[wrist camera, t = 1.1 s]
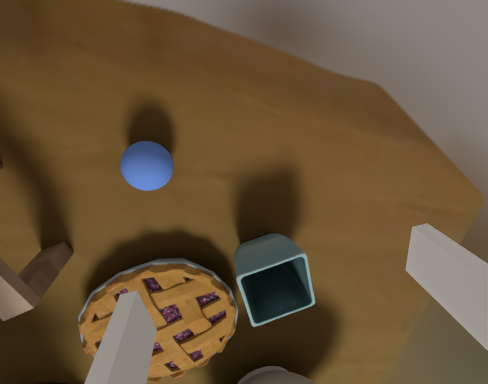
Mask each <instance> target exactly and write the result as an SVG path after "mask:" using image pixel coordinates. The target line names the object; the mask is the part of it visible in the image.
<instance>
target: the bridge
mask: <svg viewBox="0 0 488 384" xmlns="http://www.w3.org/2000/svg"><path fill="white" fill-rule="evenodd" d="M1 168H3V167H2V165H1V164H0V169H1ZM72 254H73V251H72V250H71V249H70V248H69V246H68V245H67V244H66V243H65V242H64V241H63V242H60V243H58V244H56V245H53V246H51V247H48V248H46V249H44V250H41V251H40V252H39V253H38V254H37V255H36V257H35V258H34V259H33V260H32V261H31V262H30V263H29V264H28V265H27V266H26V267H25V268H24V269H23V270H22V272H21V273H20V274H19V275H18V276H17V275H16V274H15V273H14V272H13V271H12V270H11V269H10V268H9V267H8V266H7V265H6V264H5V263H4V262H3V261H2V260H1V259H0V319H2V320H3V321H5V320H8V319H10V318H12V317H15V316H17V315H19V314H22V313H24V312H26V311H28V310H31V309H33V308H34V307H35V306H36V305H37V303H38V302H39V300H40V299H41V298H42V296H43V295H44V293H45V292H46V291H47V289H48V288H49V286H50V285H51V284H52V282H53V281H54V279H55V278H56V277H57V275H58V274H59V273H60V271H61V270H62V268H63V267H64V266H65V264H66V263H67V261H68V260H69V259H70V257H71V256H72Z"/></svg>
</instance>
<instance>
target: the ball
mask: <svg viewBox="0 0 488 384" xmlns="http://www.w3.org/2000/svg"><path fill="white" fill-rule="evenodd" d="M120 166H121V172H122V174H123V176H124V178H125V179H126V181H127V182H128V183H129V184H130V185H132V186H133V187H135V188H137V189H140V190H146V191H150V190H156V189H159V188H161V187H162V186H164V185H165V184H166V183H167V182H168V181H169V180H170V178H171V176H172V173H173V160H172V157H171V155H170V153H169V152H168V151H167V150H166V149H165V148H164V147H163V146H161V145H160V144H158V143H155V142H151V141H140V142H137V143H134V144H132V145H131V146H129V147H128V148H127V149H126V150H125V152H124V153H123V155H122V158H121V164H120Z"/></svg>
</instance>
